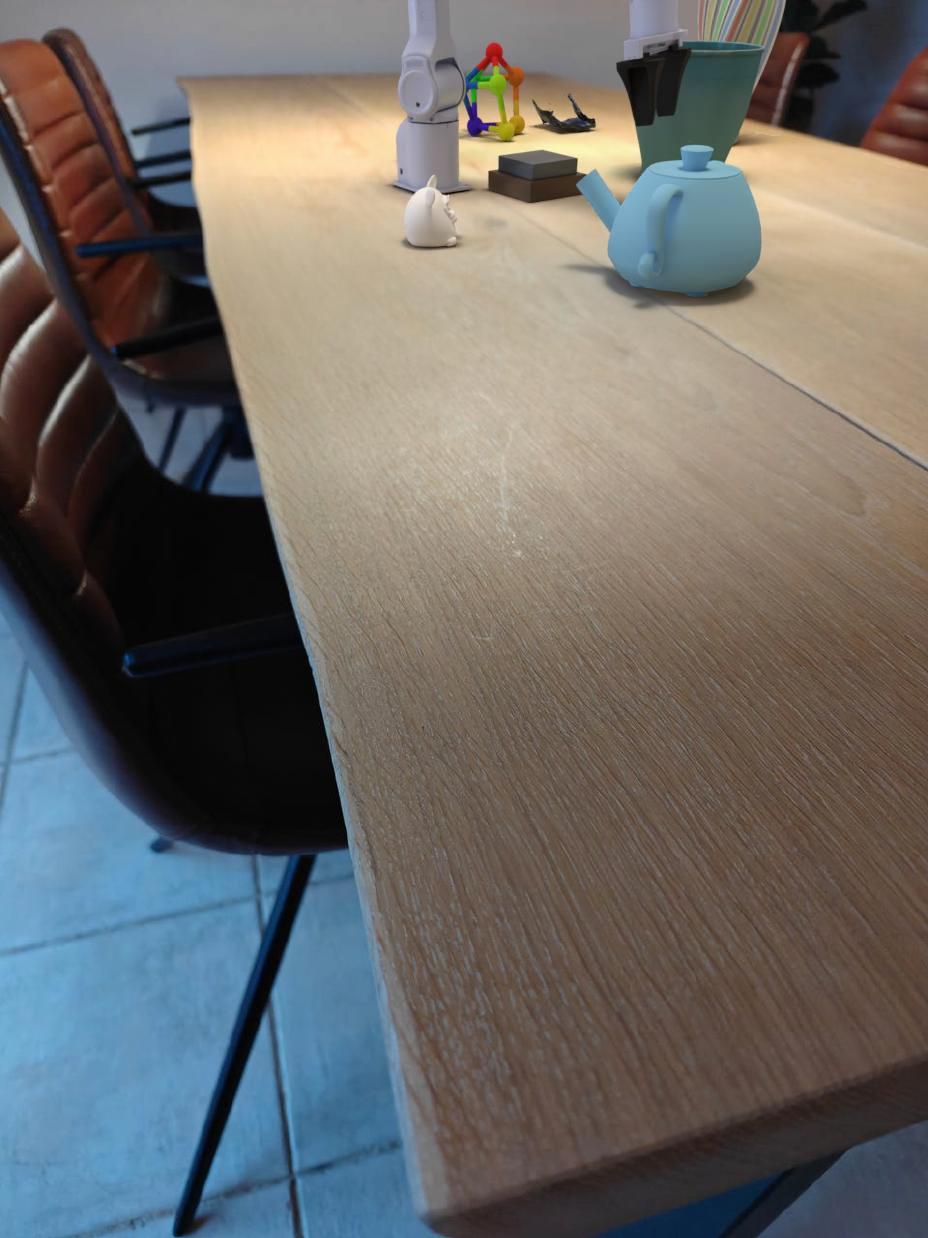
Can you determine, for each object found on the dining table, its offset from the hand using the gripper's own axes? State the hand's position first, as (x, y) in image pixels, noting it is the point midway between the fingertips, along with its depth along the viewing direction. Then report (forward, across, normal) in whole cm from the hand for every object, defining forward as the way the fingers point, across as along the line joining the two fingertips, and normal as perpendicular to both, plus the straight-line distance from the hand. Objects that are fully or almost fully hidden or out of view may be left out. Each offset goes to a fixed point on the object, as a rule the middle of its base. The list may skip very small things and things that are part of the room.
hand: (655, 120), depth 111 cm
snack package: (+6, +53, +39) cm, 66 cm away
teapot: (+12, -29, -11) cm, 33 cm away
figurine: (+8, -28, +18) cm, 34 cm away
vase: (+10, +53, +8) cm, 55 cm away
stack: (+8, +2, +19) cm, 20 cm away
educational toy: (+4, +38, +47) cm, 61 cm away
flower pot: (+10, +22, +4) cm, 24 cm away
